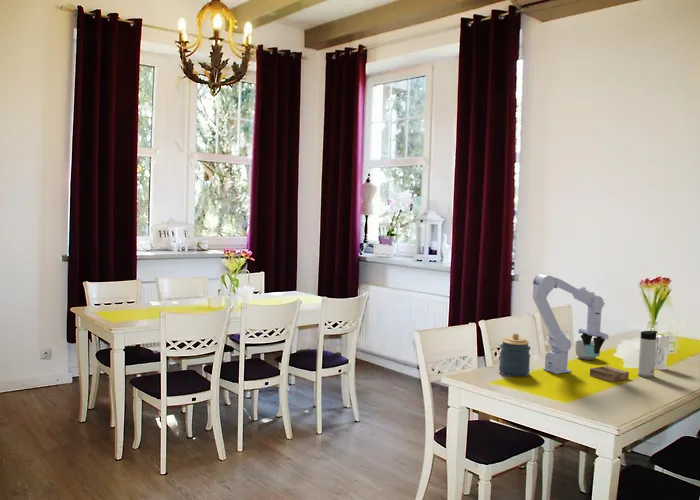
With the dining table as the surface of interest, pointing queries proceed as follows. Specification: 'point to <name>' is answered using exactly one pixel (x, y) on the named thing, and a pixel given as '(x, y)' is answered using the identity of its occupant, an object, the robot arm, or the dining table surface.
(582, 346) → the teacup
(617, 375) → the walnut base
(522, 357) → the canister
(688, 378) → the dining table surface
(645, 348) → the travel mug
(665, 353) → the beer glass
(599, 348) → the robot arm
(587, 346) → the teal cube
